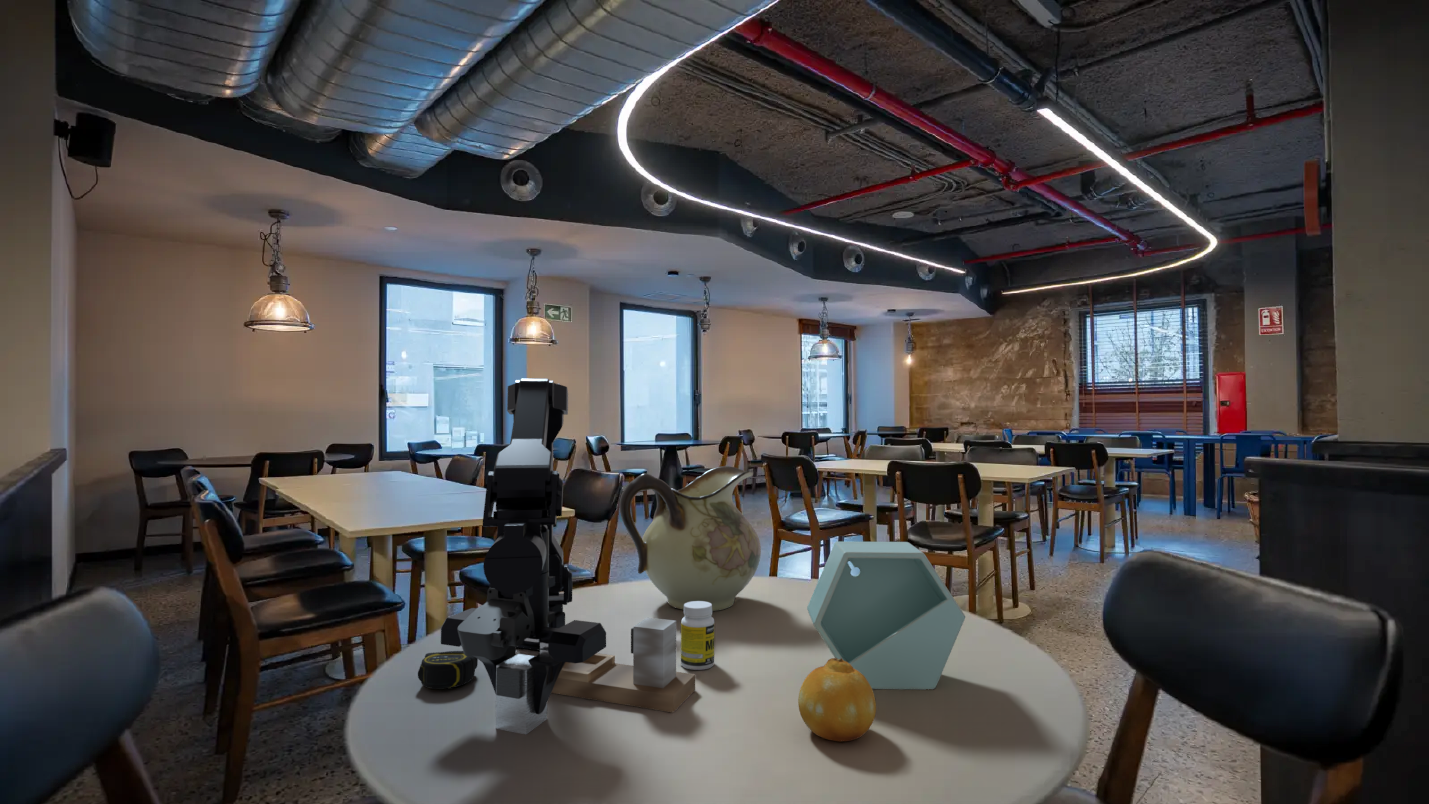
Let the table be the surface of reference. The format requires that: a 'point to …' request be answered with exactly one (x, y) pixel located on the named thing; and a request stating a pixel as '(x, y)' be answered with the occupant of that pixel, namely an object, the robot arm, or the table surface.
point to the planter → (886, 614)
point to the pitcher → (695, 538)
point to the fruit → (837, 701)
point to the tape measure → (446, 669)
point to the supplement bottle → (697, 636)
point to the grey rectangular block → (516, 696)
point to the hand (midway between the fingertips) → (521, 709)
